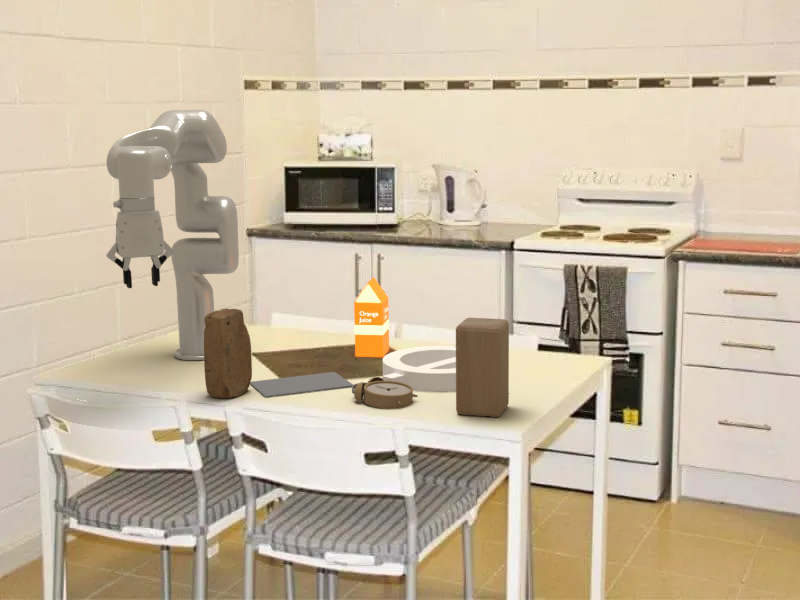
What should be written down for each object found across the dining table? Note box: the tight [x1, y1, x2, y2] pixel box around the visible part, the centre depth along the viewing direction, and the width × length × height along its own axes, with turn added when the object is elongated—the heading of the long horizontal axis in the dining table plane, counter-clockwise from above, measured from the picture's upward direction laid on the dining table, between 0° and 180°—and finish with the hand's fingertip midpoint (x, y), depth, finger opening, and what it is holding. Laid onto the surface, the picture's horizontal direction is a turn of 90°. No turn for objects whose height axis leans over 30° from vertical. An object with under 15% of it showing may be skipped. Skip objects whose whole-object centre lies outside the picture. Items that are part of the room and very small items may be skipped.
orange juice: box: [353, 276, 390, 358], centre depth 307 cm, size 8×9×20 cm
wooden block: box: [455, 317, 510, 418], centre depth 253 cm, size 10×10×20 cm
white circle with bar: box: [381, 345, 456, 393], centre depth 284 cm, size 28×28×5 cm
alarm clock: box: [351, 376, 419, 410], centre depth 264 cm, size 11×5×15 cm
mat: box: [250, 371, 354, 398], centre depth 278 cm, size 14×22×1 cm, turn 113°
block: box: [203, 308, 253, 399], centre depth 270 cm, size 11×8×20 cm
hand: (142, 285), depth 259 cm, fingers open, 5 cm apart
